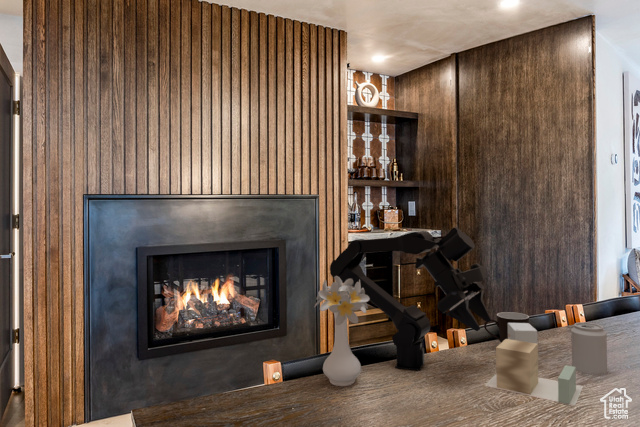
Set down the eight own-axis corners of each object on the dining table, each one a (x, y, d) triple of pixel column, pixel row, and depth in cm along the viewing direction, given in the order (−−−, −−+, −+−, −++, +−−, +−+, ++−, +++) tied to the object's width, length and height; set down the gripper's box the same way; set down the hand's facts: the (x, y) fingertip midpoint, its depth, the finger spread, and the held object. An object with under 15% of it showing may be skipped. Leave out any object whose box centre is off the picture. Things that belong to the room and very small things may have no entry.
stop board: (558, 401, 91) (558, 377, 91) (565, 387, 98) (565, 365, 98) (569, 404, 90) (569, 380, 90) (576, 389, 97) (575, 366, 97)
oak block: (496, 387, 99) (495, 347, 99) (506, 376, 105) (505, 338, 105) (530, 394, 95) (529, 353, 95) (538, 382, 101) (537, 343, 101)
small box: (538, 372, 110) (538, 330, 110) (514, 371, 111) (514, 330, 111) (530, 361, 118) (529, 322, 117) (508, 360, 119) (507, 322, 119)
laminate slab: (484, 389, 100) (484, 385, 100) (499, 373, 110) (499, 369, 110) (575, 410, 89) (575, 405, 89) (583, 390, 99) (583, 386, 99)
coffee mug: (531, 348, 129) (531, 314, 129) (527, 356, 122) (526, 320, 122) (489, 342, 135) (489, 309, 135) (483, 350, 128) (483, 316, 128)
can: (602, 369, 111) (601, 321, 111) (611, 380, 104) (610, 329, 104) (569, 366, 114) (568, 320, 114) (575, 377, 107) (574, 327, 106)
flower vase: (329, 402, 96) (327, 287, 95) (309, 372, 113) (307, 275, 113) (385, 394, 99) (382, 283, 99) (356, 366, 117) (354, 272, 117)
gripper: (454, 257, 99) (501, 315, 94) (479, 249, 115) (520, 300, 109) (419, 285, 105) (462, 342, 99) (447, 274, 120) (485, 323, 114)
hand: (484, 325), depth 105 cm, fingers open, 9 cm apart
